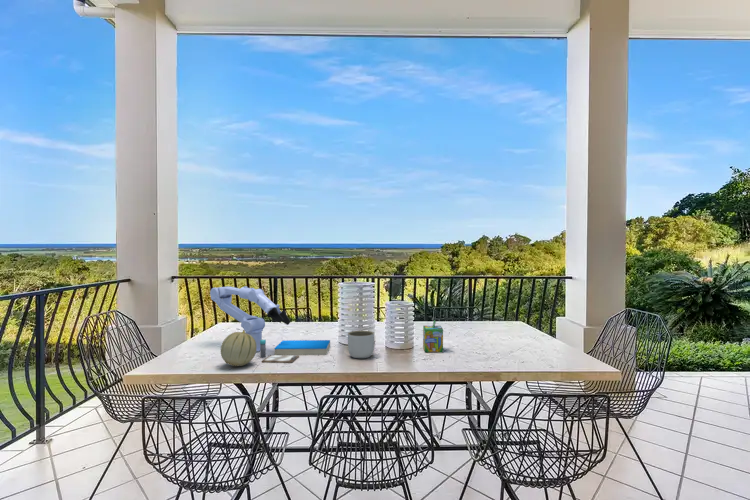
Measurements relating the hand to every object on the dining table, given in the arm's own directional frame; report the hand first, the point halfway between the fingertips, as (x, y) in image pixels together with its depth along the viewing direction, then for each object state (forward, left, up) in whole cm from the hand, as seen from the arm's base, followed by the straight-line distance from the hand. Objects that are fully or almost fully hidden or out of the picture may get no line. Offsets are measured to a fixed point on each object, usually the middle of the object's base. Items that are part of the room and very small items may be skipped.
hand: (285, 322), depth 184 cm
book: (+7, +7, -16) cm, 19 cm away
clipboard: (+1, -9, -15) cm, 18 cm away
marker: (-9, -6, -16) cm, 19 cm away
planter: (+37, -1, -16) cm, 40 cm away
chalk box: (+71, +13, -16) cm, 74 cm away
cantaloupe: (-14, -20, -16) cm, 29 cm away
